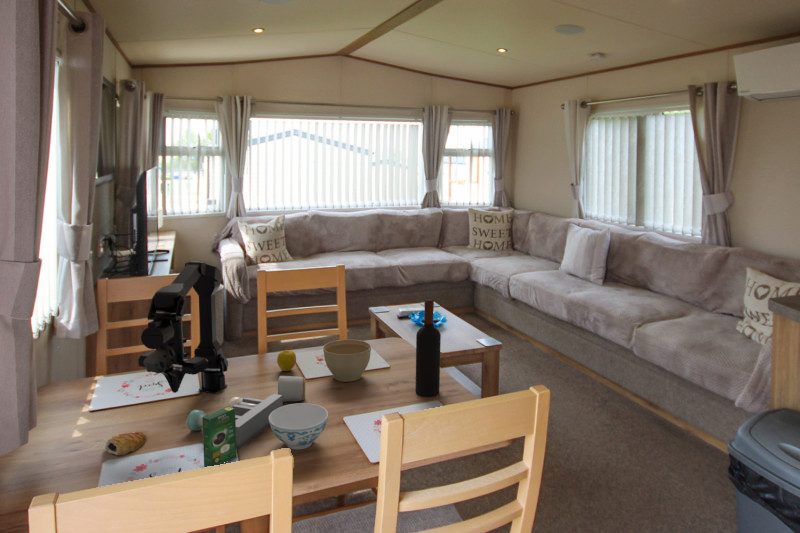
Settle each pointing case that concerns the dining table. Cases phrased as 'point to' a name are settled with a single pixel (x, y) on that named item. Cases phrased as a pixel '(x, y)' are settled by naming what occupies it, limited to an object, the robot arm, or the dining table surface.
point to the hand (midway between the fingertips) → (175, 392)
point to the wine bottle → (428, 355)
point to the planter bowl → (347, 358)
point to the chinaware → (298, 424)
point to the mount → (254, 417)
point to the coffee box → (219, 436)
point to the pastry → (125, 443)
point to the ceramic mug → (291, 388)
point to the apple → (286, 360)
